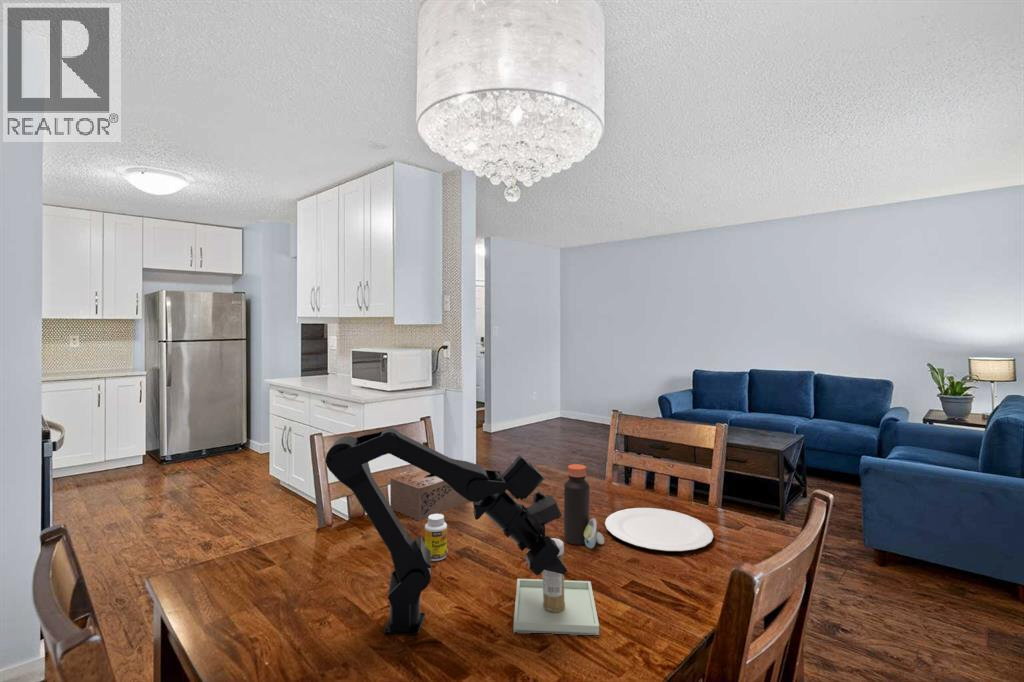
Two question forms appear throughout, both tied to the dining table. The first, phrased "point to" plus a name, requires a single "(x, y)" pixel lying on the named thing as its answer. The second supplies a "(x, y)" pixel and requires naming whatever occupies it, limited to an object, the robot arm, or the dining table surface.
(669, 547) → the plate
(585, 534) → the pacifier
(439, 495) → the tissue box cover
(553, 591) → the spice jar
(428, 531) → the supplement bottle
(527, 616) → the tray
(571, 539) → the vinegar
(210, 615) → the dining table surface
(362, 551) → the dining table surface
